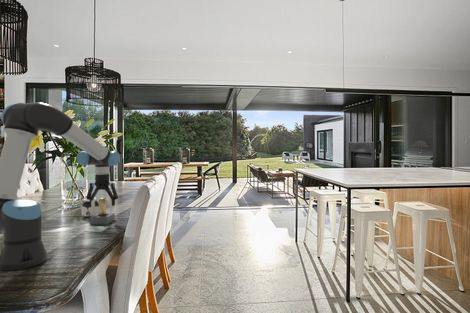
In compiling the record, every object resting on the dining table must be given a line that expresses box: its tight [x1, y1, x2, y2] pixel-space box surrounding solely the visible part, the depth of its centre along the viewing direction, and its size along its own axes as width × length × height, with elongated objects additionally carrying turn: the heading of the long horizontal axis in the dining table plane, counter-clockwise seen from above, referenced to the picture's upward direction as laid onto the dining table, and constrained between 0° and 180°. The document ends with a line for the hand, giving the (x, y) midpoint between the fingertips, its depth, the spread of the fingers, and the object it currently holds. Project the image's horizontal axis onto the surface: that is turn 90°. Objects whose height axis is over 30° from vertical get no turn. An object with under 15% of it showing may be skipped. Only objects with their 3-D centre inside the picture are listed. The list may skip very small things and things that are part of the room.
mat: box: [83, 225, 109, 233], centre depth 151 cm, size 9×9×1 cm
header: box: [89, 212, 116, 225], centre depth 165 cm, size 10×10×4 cm
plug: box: [98, 197, 107, 216], centre depth 165 cm, size 4×4×14 cm
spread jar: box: [81, 196, 99, 219], centre depth 179 cm, size 12×11×12 cm
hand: (102, 211), depth 165 cm, fingers open, 10 cm apart
